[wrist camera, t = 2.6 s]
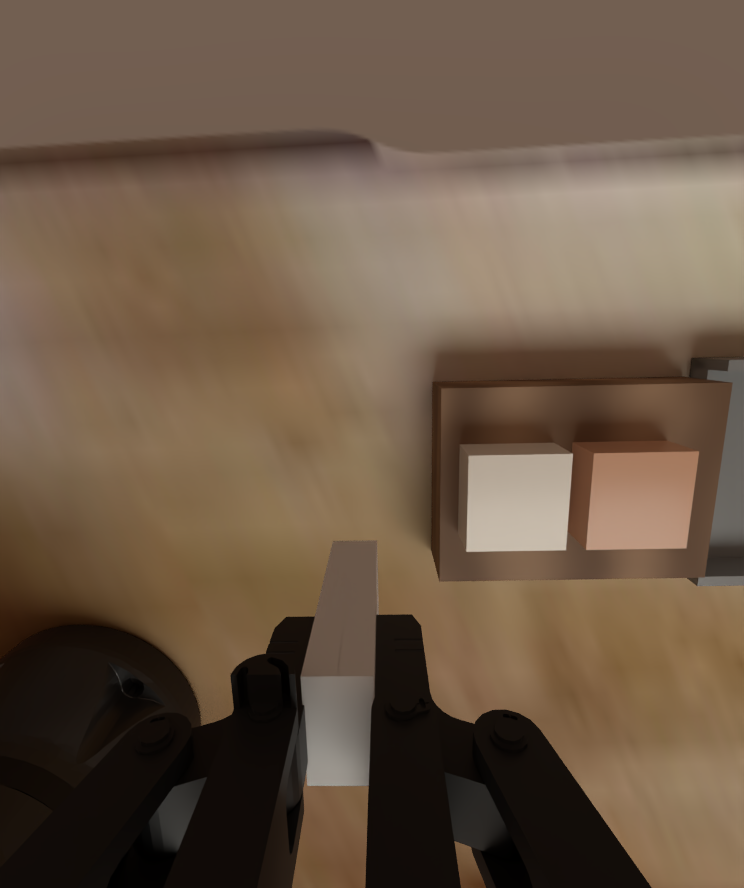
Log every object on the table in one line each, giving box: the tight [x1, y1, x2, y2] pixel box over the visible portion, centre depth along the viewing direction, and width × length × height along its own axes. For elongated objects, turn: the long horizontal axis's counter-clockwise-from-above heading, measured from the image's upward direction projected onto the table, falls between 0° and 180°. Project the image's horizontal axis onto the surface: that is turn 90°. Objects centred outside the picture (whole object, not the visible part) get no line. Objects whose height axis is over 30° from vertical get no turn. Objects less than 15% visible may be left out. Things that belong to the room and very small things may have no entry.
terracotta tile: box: [567, 441, 699, 550], centre depth 24 cm, size 5×5×2 cm
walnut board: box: [431, 377, 733, 581], centre depth 27 cm, size 15×11×4 cm
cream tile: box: [458, 443, 573, 552], centre depth 24 cm, size 5×5×2 cm
